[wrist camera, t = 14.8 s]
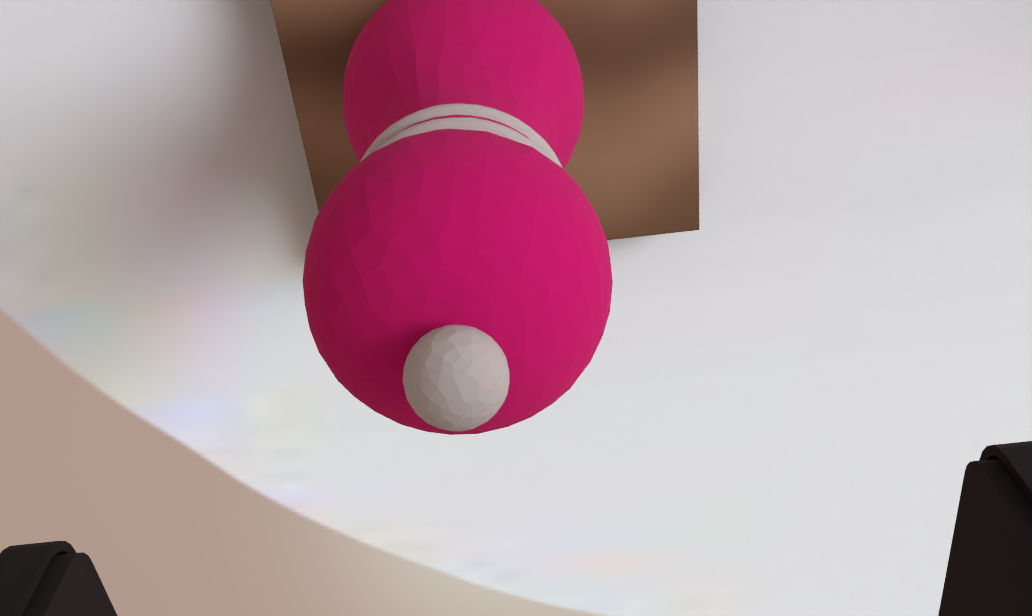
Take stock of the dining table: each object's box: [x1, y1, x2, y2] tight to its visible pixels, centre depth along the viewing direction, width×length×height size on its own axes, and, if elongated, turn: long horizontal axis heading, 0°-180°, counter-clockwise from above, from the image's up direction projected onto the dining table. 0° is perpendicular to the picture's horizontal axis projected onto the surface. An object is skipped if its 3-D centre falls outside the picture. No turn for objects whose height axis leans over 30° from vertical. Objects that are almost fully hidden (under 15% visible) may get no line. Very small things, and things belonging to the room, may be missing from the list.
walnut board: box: [271, 0, 699, 240], centre depth 33 cm, size 16×14×2 cm
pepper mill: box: [303, 0, 612, 435], centre depth 24 cm, size 7×7×20 cm
